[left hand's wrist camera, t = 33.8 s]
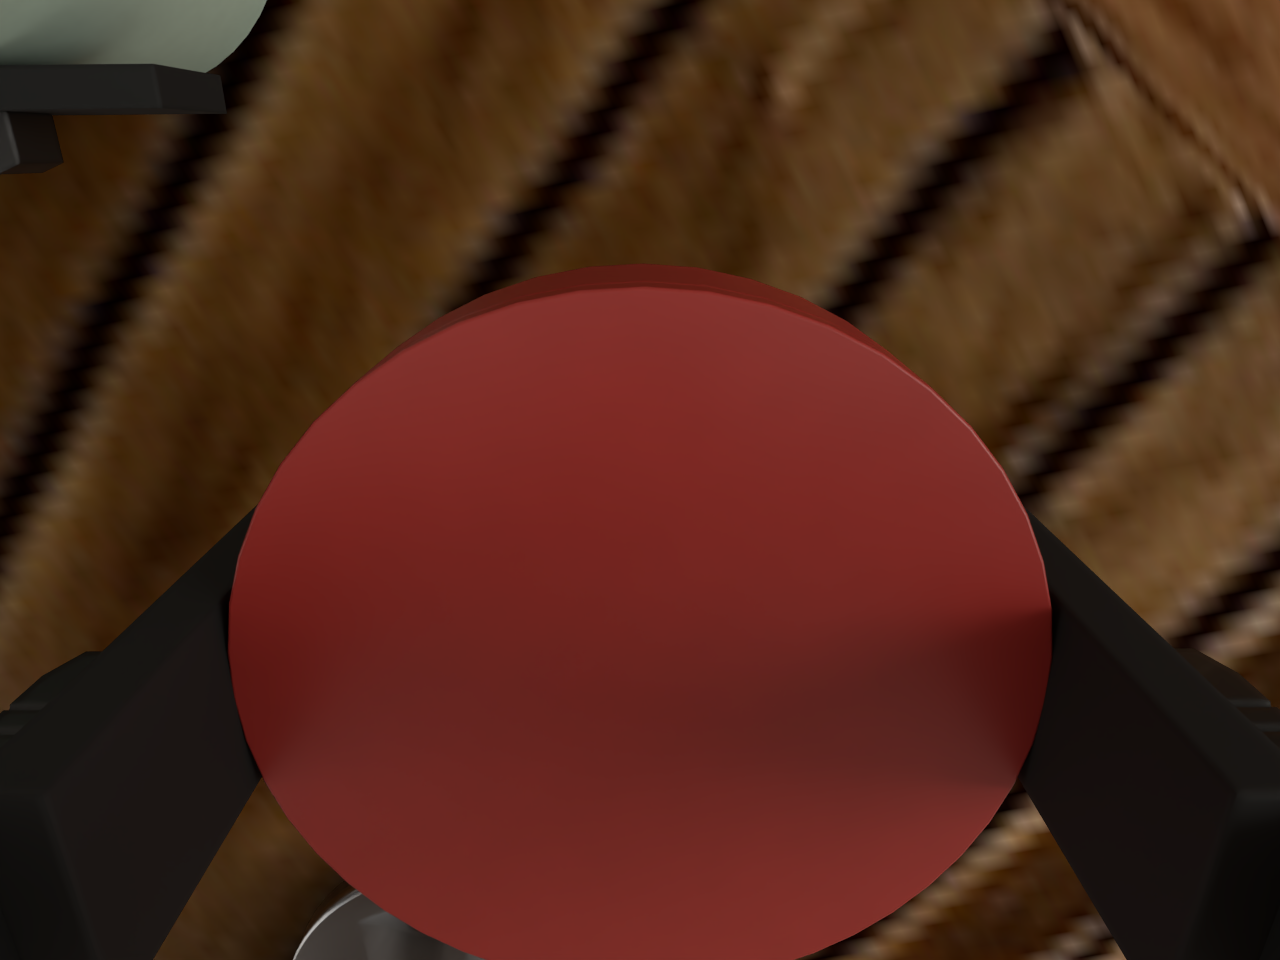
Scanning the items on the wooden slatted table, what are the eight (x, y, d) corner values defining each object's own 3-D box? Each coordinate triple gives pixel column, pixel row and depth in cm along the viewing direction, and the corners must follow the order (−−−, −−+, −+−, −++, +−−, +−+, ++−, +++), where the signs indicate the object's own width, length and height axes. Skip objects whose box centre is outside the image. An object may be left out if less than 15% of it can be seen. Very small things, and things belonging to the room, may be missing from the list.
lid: (1140, 446, 11) (1231, 500, 9) (794, 951, 14) (815, 1058, 13) (406, 122, 10) (356, 118, 8) (215, 770, 13) (152, 863, 11)
